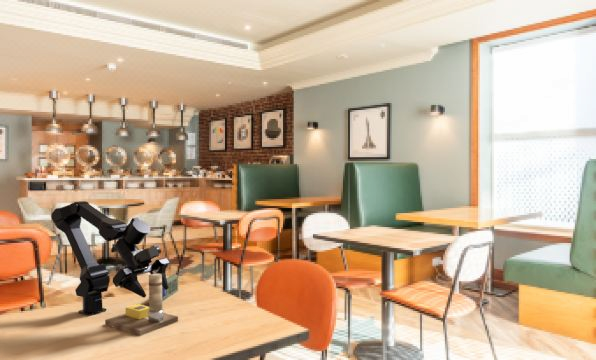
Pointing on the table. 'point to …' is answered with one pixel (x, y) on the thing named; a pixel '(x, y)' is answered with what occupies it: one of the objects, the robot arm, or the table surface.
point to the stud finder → (137, 311)
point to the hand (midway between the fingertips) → (156, 292)
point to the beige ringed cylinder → (155, 298)
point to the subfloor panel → (139, 323)
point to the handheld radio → (172, 286)
